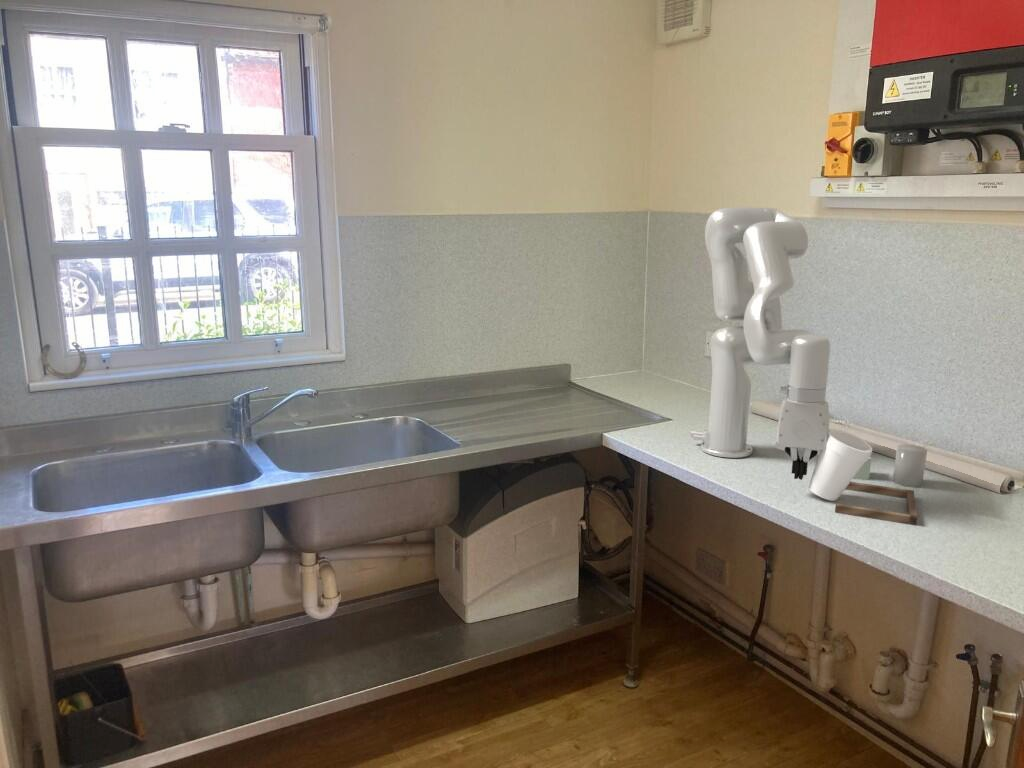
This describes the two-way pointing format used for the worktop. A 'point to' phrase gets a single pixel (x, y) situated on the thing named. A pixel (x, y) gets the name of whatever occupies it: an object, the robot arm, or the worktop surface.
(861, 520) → the worktop surface
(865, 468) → the sage painted block
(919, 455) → the grey ceramic jar
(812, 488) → the foam cup
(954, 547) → the worktop surface
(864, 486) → the dark wooden bay
